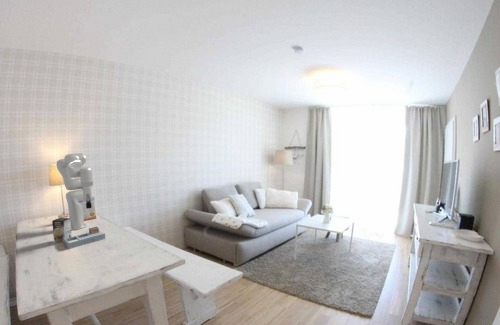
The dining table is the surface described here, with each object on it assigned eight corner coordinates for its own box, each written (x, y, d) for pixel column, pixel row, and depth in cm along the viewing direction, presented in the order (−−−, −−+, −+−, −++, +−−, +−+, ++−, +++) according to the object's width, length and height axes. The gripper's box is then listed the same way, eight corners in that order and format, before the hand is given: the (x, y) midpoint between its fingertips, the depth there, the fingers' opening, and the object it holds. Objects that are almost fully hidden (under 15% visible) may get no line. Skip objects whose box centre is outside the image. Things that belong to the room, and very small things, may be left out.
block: (89, 232, 178) (88, 228, 178) (96, 230, 182) (96, 226, 182) (91, 234, 175) (90, 229, 175) (98, 232, 179) (98, 227, 178)
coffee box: (53, 242, 170) (51, 220, 169) (61, 238, 176) (59, 217, 175) (65, 242, 169) (63, 220, 168) (72, 239, 176) (70, 217, 174)
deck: (63, 243, 168) (62, 237, 168) (98, 233, 184) (98, 228, 184) (68, 249, 158) (67, 243, 157) (105, 238, 174) (105, 233, 174)
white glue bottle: (96, 217, 229) (94, 195, 228) (96, 218, 224) (94, 196, 223) (78, 220, 221) (76, 198, 220) (78, 221, 216) (76, 199, 215)
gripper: (81, 183, 183) (82, 205, 184) (80, 186, 169) (82, 210, 170) (92, 182, 187) (94, 203, 189) (93, 185, 173) (95, 208, 174)
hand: (88, 206), depth 179 cm, fingers open, 9 cm apart
